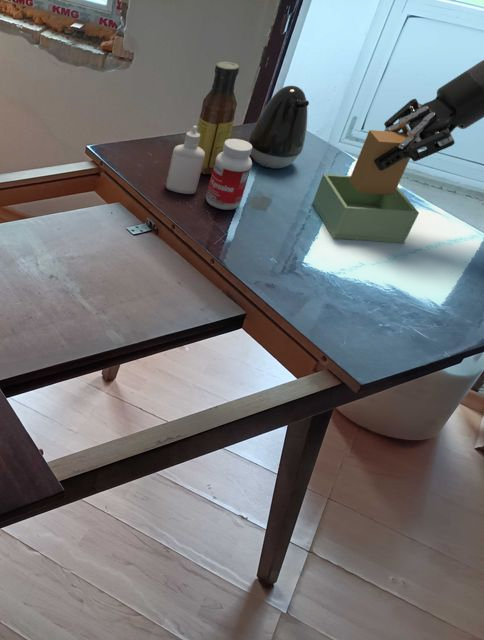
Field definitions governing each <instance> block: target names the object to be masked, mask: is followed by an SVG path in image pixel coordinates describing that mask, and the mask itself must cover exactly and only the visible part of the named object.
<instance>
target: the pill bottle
mask: <svg viewBox="0 0 484 640" xmlns="http://www.w3.org/2000/svg"><path fill="white" fill-rule="evenodd" d="M251 151H252V145H251V144H250V143H249V141H246V140H244V139H241V138H230V139H228V140H226V141H225V143H224V146H223V152H221V153H219V154H218V156H217V157H216V160H215V164H214V168H213V171H212V175H210V178H209V183H208V187H207V191H206V195H205V200H206V202H207V203H208V204H209V205H210V206H211V207H214V208H216V209H219V210H224V211H229V210H230V211H231V210H235V209H237V208H239V206H240V205H241V203H242V202H241V201H242V200H243V197H244V193H245V190H246V186H247V183H248V179H249V177H250V173H251V169H252V166H253V162H252V159H251V157H250V156H251Z"/></svg>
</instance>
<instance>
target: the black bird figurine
mask: <svg viewBox="0 0 484 640" xmlns="http://www.w3.org/2000/svg"><path fill="white" fill-rule="evenodd" d="M306 97H307V96H306V94H305V92H304V91H303V90H302V89H301V87H299V86H296V85H287V86H283V87H282V88H280V89H279V90H278V91H277V92H276V93H275V94H274V95H273V96H272V97H271V98H270V99H269V101H268V102H267V104H266V105H265V106H264V108H263V110H262V111H261V114H259V117H258V118H257V120H256V122H255V124H254V126H253V128H252V131H251V133H250V136H249V140H248V142H249V143H250V144H251V145H252V151H251V154H250V156H251V158H252V160H254V161H255V162H256V163H257V164H258V163H259V164H258V165H260V164H261V165H260V166H262V165H264V166H267V167H266V168H268V167H273V168H272V169H282V168H285V167H288V166H289V165H291V164H293V163H294V162H295V161H296V159H297V158H298V156H299V155H301V154H302V152H303V150H304V145H305V142H306V136H307V129H308V106H310V105H309V104H310V102H309V100H307V98H306ZM264 166H263V167H264Z"/></svg>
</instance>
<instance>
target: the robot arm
mask: <svg viewBox="0 0 484 640" xmlns="http://www.w3.org/2000/svg"><path fill="white" fill-rule="evenodd" d="M483 118H484V59H482V60H481V61H479V62H477V63H476V64H475V65H473V66H471V67H470V68H468V69H467V70H465V71H463V72H462V73H461V74H459V75H457V76H456V77H454V78H453V79H451V80H449V81H448V82H447V83H445V84H443V85H441V86H440V87H439V88H438V89H437V90H436V97H435V98H434V99H432V100H430V101H427V102H425V103H423V104H421V103H419V102H418V99H417V98H412V99H410V100H409V101H408V102H407V103H406V104H405V105H404V106H402V107H401V108H400V109H399V110H398V111H397V112H395V113H394V114H393V115H392V116H391V117H389V118H388V119H387V120H386V121H385V122H384V123H383V125H384V128H385V129H384V130H383V131H391V132H403V133H406V134H408V137H407V138H406V139H405V140H404V141H403V142H402V143H401V144H399V146H398V148H397V147H394V148H392V149H391V150H389V151H388V152H386V153H384V154H383V155H381V156H380V157H378V158H376V159H375V161H374V162H375V164H376V166H377V168H378V169H379V170H380V171H382V170H384V169H386V168H388V167H390V166H391V165H393V164H395V163H397V162H398V161H400V160H401V159H403V158H405V159H408V158H410V160H412V162H417V161H420V160H422V159H424V158H427V157H429V156H432V155H434V154H436V153H438V152H441V151H443V150H446V149H447V148H450V147H453V146H454V145H455V143H456V141H455V139H454V136H453V135H452V132H453V131H454V130H455V129H456V128H459V129H460V130H465V129H467V128H469V127H470V126H472V125H474V124H475V123H477V122H478V121H481V120H482V119H483ZM397 121H398V122H397ZM395 122H396V123H395ZM412 142H413V143H414V144H412V145H410V144H411V143H412ZM419 150H421V151H420V152H419Z"/></svg>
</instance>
